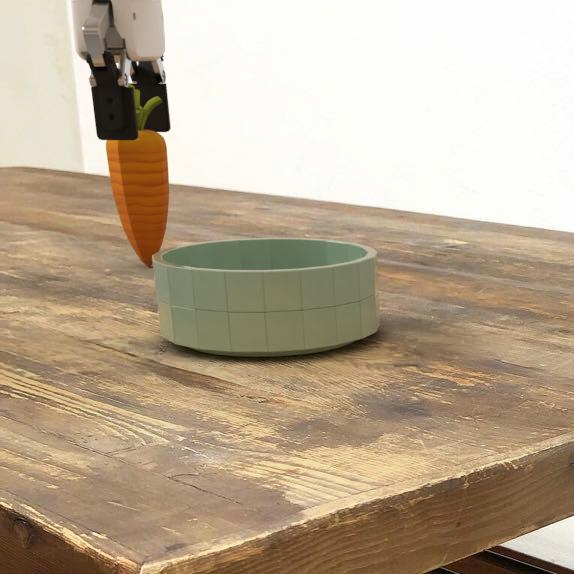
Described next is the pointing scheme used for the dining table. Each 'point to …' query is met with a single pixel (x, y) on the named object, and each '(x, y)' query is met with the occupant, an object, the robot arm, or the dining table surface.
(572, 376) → the dining table surface
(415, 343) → the dining table surface
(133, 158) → the carrot
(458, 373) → the dining table surface
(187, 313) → the bowl
